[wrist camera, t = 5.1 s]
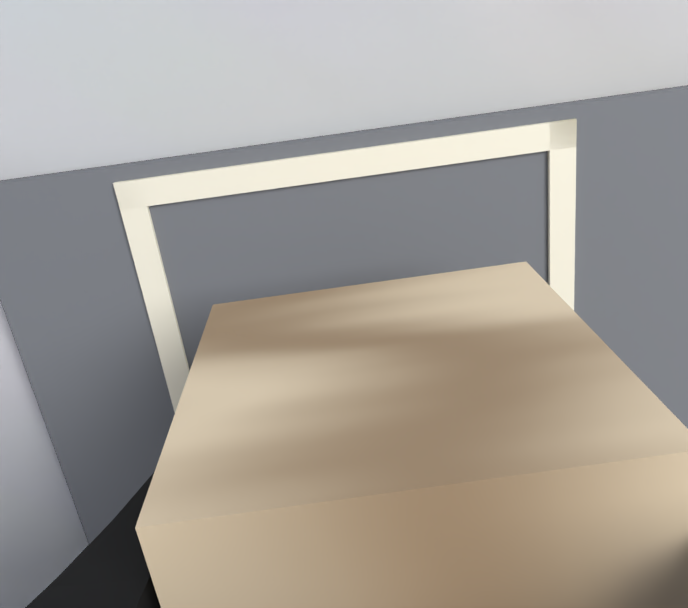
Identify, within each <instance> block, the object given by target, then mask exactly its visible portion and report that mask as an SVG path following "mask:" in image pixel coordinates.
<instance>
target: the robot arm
mask: <svg viewBox="0 0 688 608" xmlns="http://www.w3.org/2000/svg"><path fill="white" fill-rule="evenodd" d="M154 472H155V471H154ZM153 475H154V473H153V474H152V475H151V476H150V477H149V478H148V480H147V481H146V482H145V483H144V484H143V486H142V487H141V488H140V489H139V490H138V491H137V492H136V494H135V495H134V496H133V497H132V498H131V499H130V501H129V502H128V503H127V504H126V505H125V506H124V507H123V509H122V510H121V511H120V512H119V513H118V514H117V516H116V517H115V518H114V519H113V520H112V521H111V522H110V523H109V524H108V525H107V526H106V528H105V529H104V530H103V531H102V532H101V533H100V534H99V535H98V536H97V537H96V538H95V539H94V540H93V541H92V542H91V543H90V544H89V545H88V546H87V547H86V548H85V549H84V551H83V552H82V553H81V554H80V555H79V556H78V557H77V558H76V559H75V560H74V561H73V562H72V563H71V564H70V565H69V566H68V567H67V568H66V569H65V570H64V571H63V572H62V574H61V575H59V576H58V577H57V578H56V579H55V580H54V581H53V582H52V583H51V584H50V585H49V586H48V587H47V588H46V589H45V590H44V591H43V592H42V593H41V594H40V595H39V596H38V597H36V598H35V599H34V600H33V601H32V602H31V603H30V604H29V605H28V606H27V607H26V608H161V606H160V603H159V600H158V597H157V594H156V591H155V588H154V585H153V582H152V578H151V575H150V572H149V569H148V566H147V563H146V560H145V557H144V554H143V551H142V548H141V545H140V541H139V538H138V535H137V532H136V529H135V527H136V524H137V521H138V518H139V515H140V512H141V509H142V506H143V504H144V501H145V498H146V495H147V492H148V489H149V486H150V484H151V481H152V478H153Z"/></svg>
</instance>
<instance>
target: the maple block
mask: <svg viewBox="0 0 688 608" xmlns="http://www.w3.org/2000/svg"><path fill="white" fill-rule="evenodd" d="M135 529H136V532H137V535H138V538H139V541H140V545H141V548H142V551H143V554H144V557H145V560H146V563H147V566H148V569H149V572H150V575H151V578H152V582H153V585H154V588H155V591H156V594H157V597H158V600H159V603H160V606H161V608H688V429H687V428H686V427H685V425H684V424H683V423H682V422H681V421H680V420H679V419H678V418H677V417H676V416H675V415H674V414H673V413H672V412H671V411H670V410H669V409H668V408H667V407H666V406H665V405H664V404H663V403H662V402H661V401H660V400H659V399H658V397H657V396H656V395H655V394H654V393H653V392H652V391H651V390H650V389H649V388H648V387H647V386H646V385H645V384H644V383H643V382H642V381H641V380H640V379H639V378H638V377H637V376H636V375H635V374H634V373H633V372H632V371H631V370H630V368H629V367H628V366H627V365H626V364H625V363H624V362H623V361H622V360H621V359H620V358H619V357H618V356H617V355H616V354H615V353H614V352H613V351H612V350H611V349H610V348H609V347H608V346H607V345H606V344H605V343H604V342H603V340H602V339H601V338H600V337H599V336H598V335H597V334H596V333H595V332H594V331H593V330H592V329H591V328H590V327H589V326H588V325H587V324H586V323H585V322H584V321H583V320H582V319H581V318H580V317H579V316H578V315H577V314H576V313H575V311H574V310H573V309H572V308H571V307H570V306H569V305H568V304H567V303H566V302H565V301H564V300H563V299H562V298H561V297H560V296H559V295H558V294H557V293H556V292H555V291H554V290H553V289H552V288H551V287H550V286H549V285H548V284H547V282H546V281H545V280H544V279H543V278H542V277H541V276H540V275H539V274H538V273H537V272H536V271H535V270H534V269H533V268H532V267H531V266H530V265H529V264H528V263H527V262H518V263H511V264H504V265H497V266H489V267H482V268H475V269H468V270H460V271H453V272H446V273H439V274H431V275H424V276H417V277H410V278H402V279H395V280H388V281H381V282H373V283H366V284H359V285H351V286H344V287H337V288H330V289H322V290H315V291H308V292H301V293H293V294H286V295H279V296H272V297H264V298H257V299H250V300H243V301H235V302H228V303H221V304H214V305H213V306H212V309H211V311H210V314H209V317H208V320H207V323H206V326H205V329H204V332H203V334H202V337H201V340H200V343H199V346H198V349H197V352H196V354H195V357H194V360H193V363H192V366H191V369H190V372H189V375H188V377H187V380H186V383H185V386H184V389H183V392H182V395H181V397H180V400H179V403H178V406H177V409H176V412H175V415H174V418H173V420H172V423H171V426H170V429H169V432H168V435H167V438H166V440H165V443H164V446H163V449H162V452H161V455H160V458H159V461H158V463H157V466H156V469H155V472H154V475H153V478H152V481H151V484H150V486H149V489H148V492H147V495H146V498H145V501H144V504H143V506H142V509H141V512H140V515H139V518H138V521H137V524H136V527H135Z"/></svg>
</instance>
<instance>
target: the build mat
mask: <svg viewBox="0 0 688 608" xmlns="http://www.w3.org/2000/svg"><path fill="white" fill-rule="evenodd" d="M518 262H527V263H528V264H529V265H530V266H531V267H532V268H533V269H534V270H535V271H536V272H537V273H538V274H539V275H540V276H541V277H542V278H543V279H544V280H545V281H546V282H547V284H548V285H549V286H550V287H551V288H552V289H553V290H554V291H555V292H556V293H557V294H558V295H559V296H560V297H561V298H562V299H563V300H564V301H565V302H566V303H567V304H568V305H569V306H570V307H571V308H572V309H573V310H574V311H575V313H576V314H577V315H578V316H579V317H580V318H581V319H582V320H583V321H584V322H585V323H586V324H587V325H588V326H589V327H590V328H591V329H592V330H593V331H594V332H595V333H596V334H597V335H598V336H599V337H600V338H601V339H602V340H603V342H604V343H605V344H606V345H607V346H608V347H609V348H610V349H611V350H612V351H613V352H614V353H615V354H616V355H617V356H618V357H619V358H620V359H621V360H622V361H623V362H624V363H625V364H626V365H627V366H628V367H629V368H630V370H631V371H632V372H633V373H634V374H635V375H636V376H637V377H638V378H639V379H640V380H641V381H642V382H643V383H644V384H645V385H646V386H647V387H648V388H649V389H650V390H651V391H652V392H653V393H654V394H655V395H656V396H657V397H658V399H659V400H660V401H661V402H662V403H663V404H664V405H665V406H666V407H667V408H668V409H669V410H670V411H671V412H672V413H673V414H674V415H675V416H676V417H677V418H678V419H679V420H680V421H681V422H682V423H683V424H684V425H685V427H686V428H687V429H688V85H687V86H680V87H673V88H666V89H658V90H651V91H644V92H637V93H629V94H622V95H615V96H608V97H601V98H593V99H586V100H579V101H572V102H564V103H557V104H550V105H543V106H536V107H528V108H521V109H514V110H507V111H499V112H492V113H485V114H478V115H471V116H463V117H456V118H449V119H442V120H434V121H427V122H420V123H413V124H406V125H398V126H391V127H384V128H377V129H369V130H362V131H355V132H348V133H341V134H333V135H326V136H319V137H312V138H304V139H297V140H290V141H283V142H276V143H268V144H261V145H254V146H247V147H239V148H232V149H225V150H218V151H211V152H203V153H196V154H189V155H182V156H174V157H167V158H160V159H153V160H146V161H138V162H131V163H124V164H117V165H109V166H102V167H95V168H88V169H81V170H73V171H66V172H59V173H52V174H44V175H37V176H30V177H23V178H16V179H8V180H1V181H0V300H1V303H2V306H3V309H4V311H5V314H6V317H7V320H8V322H9V325H10V328H11V331H12V333H13V336H14V339H15V342H16V344H17V347H18V350H19V353H20V355H21V358H22V361H23V364H24V366H25V369H26V372H27V375H28V377H29V380H30V383H31V386H32V388H33V391H34V394H35V397H36V399H37V402H38V405H39V408H40V410H41V413H42V416H43V419H44V421H45V424H46V427H47V430H48V432H49V435H50V438H51V441H52V443H53V446H54V449H55V452H56V454H57V457H58V460H59V463H60V465H61V468H62V471H63V474H64V476H65V479H66V482H67V485H68V487H69V490H70V493H71V496H72V498H73V501H74V504H75V507H76V509H77V512H78V515H79V518H80V520H81V523H82V526H83V529H84V531H85V534H86V537H87V540H88V542H89V544H90V543H91V542H92V541H93V540H94V539H95V538H96V537H97V536H98V535H99V534H100V533H101V532H102V531H103V530H104V529H105V528H106V526H107V525H108V524H109V523H110V522H111V521H112V520H113V519H114V518H115V517H116V516H117V514H118V513H119V512H120V511H121V510H122V509H123V507H124V506H125V505H126V504H127V503H128V502H129V501H130V499H131V498H132V497H133V496H134V495H135V494H136V492H137V491H138V490H139V489H140V488H141V487H142V486H143V484H144V483H145V482H146V481H147V480H148V478H149V477H150V476H151V475H152V474H153V473H154V471H155V469H156V466H157V463H158V461H159V458H160V455H161V452H162V449H163V446H164V443H165V440H166V438H167V435H168V432H169V429H170V426H171V423H172V420H173V418H174V415H175V412H176V409H177V406H178V403H179V400H180V397H181V395H182V392H183V389H184V386H185V383H186V380H187V377H188V375H189V372H190V369H191V366H192V363H193V360H194V357H195V354H196V352H197V349H198V346H199V343H200V340H201V337H202V334H203V332H204V329H205V326H206V323H207V320H208V317H209V314H210V311H211V309H212V306H213V305H214V304H221V303H228V302H235V301H243V300H250V299H257V298H264V297H272V296H279V295H286V294H293V293H301V292H308V291H315V290H322V289H330V288H337V287H344V286H351V285H359V284H366V283H373V282H381V281H388V280H395V279H402V278H410V277H417V276H424V275H431V274H439V273H446V272H453V271H460V270H468V269H475V268H482V267H489V266H497V265H504V264H511V263H518Z"/></svg>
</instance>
